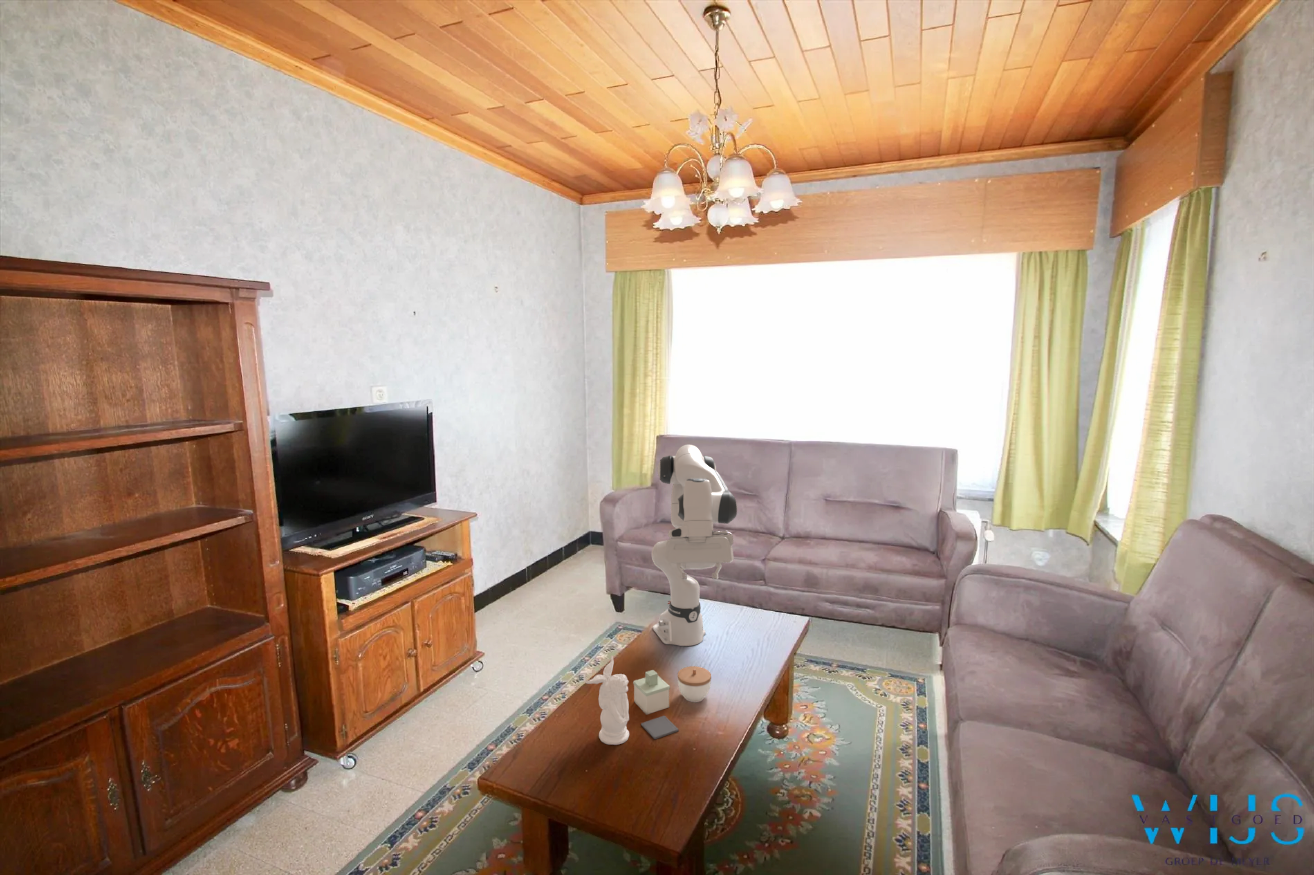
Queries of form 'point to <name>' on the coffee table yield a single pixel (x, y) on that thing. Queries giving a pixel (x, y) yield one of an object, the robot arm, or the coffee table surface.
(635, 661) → the coffee table surface
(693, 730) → the coffee table surface
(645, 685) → the lid
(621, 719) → the white tall figurine
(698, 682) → the lidded jar
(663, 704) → the cream box
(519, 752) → the coffee table surface
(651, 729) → the mat
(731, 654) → the coffee table surface
